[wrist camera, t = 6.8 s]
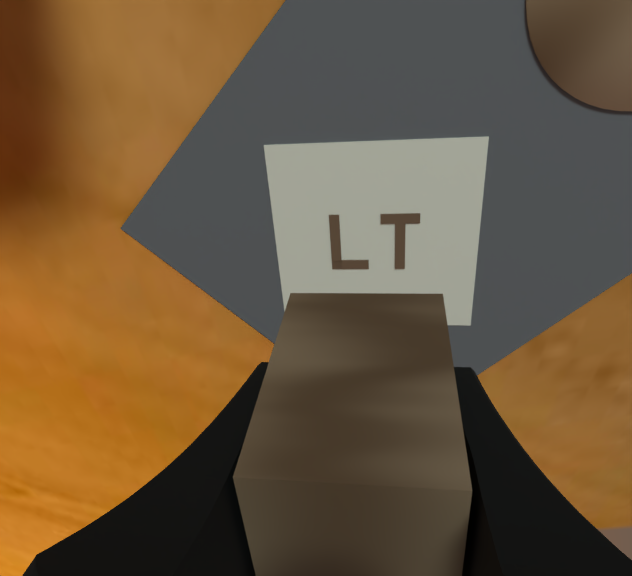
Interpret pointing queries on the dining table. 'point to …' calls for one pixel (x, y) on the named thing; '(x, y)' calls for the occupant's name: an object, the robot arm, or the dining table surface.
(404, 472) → the walnut block
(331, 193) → the card
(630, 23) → the cork coaster
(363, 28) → the charcoal mat
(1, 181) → the dining table surface
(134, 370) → the dining table surface
